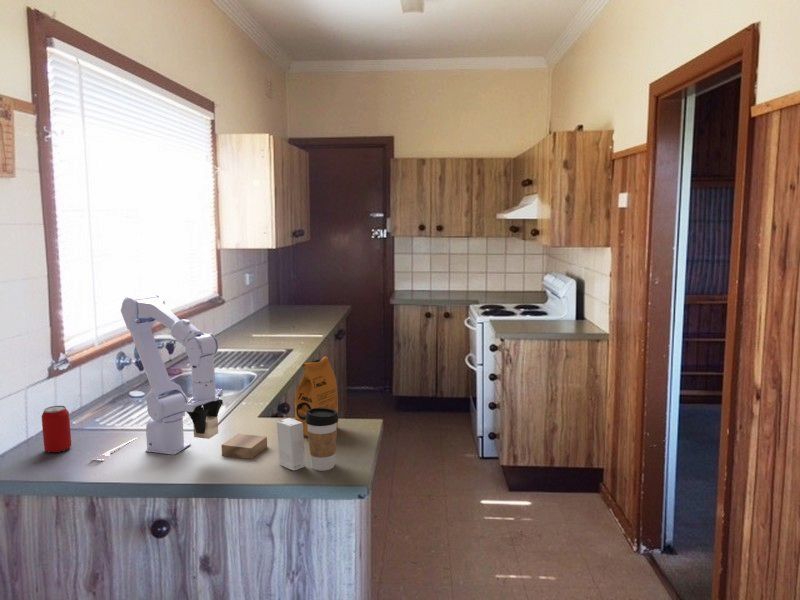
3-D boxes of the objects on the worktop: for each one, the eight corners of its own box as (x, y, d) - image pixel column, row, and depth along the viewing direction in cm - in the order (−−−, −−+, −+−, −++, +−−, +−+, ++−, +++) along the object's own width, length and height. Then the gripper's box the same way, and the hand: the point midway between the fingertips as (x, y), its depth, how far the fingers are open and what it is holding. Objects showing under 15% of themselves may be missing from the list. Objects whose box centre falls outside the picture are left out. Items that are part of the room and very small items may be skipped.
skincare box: (306, 466, 168) (304, 422, 166) (292, 471, 164) (290, 426, 163) (291, 460, 172) (290, 416, 170) (277, 465, 169) (276, 420, 167)
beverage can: (73, 444, 184) (69, 403, 182) (70, 452, 178) (67, 410, 176) (46, 447, 182) (42, 406, 180) (42, 455, 175) (39, 413, 174)
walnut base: (221, 455, 175) (221, 444, 175) (238, 443, 184) (238, 433, 183) (251, 458, 173) (251, 448, 172) (267, 446, 182) (266, 436, 181)
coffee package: (290, 433, 192) (288, 362, 189) (318, 422, 202) (317, 354, 199) (314, 440, 186) (313, 366, 183) (342, 428, 196) (341, 358, 193)
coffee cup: (307, 460, 172) (306, 406, 170) (339, 459, 172) (338, 405, 170) (305, 473, 163) (304, 416, 161) (338, 472, 164) (337, 415, 162)
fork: (142, 440, 189) (142, 434, 189) (97, 465, 169) (96, 459, 169) (132, 440, 189) (132, 433, 189) (86, 464, 170) (86, 458, 170)
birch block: (194, 437, 170) (193, 420, 169) (203, 431, 174) (202, 415, 173) (208, 438, 168) (208, 422, 168) (218, 433, 173) (217, 416, 172)
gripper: (201, 388, 161) (203, 440, 163) (231, 374, 175) (233, 422, 177) (176, 386, 163) (179, 438, 165) (208, 372, 177) (211, 420, 179)
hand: (206, 429), depth 171 cm, fingers closed on birch block, 4 cm apart
